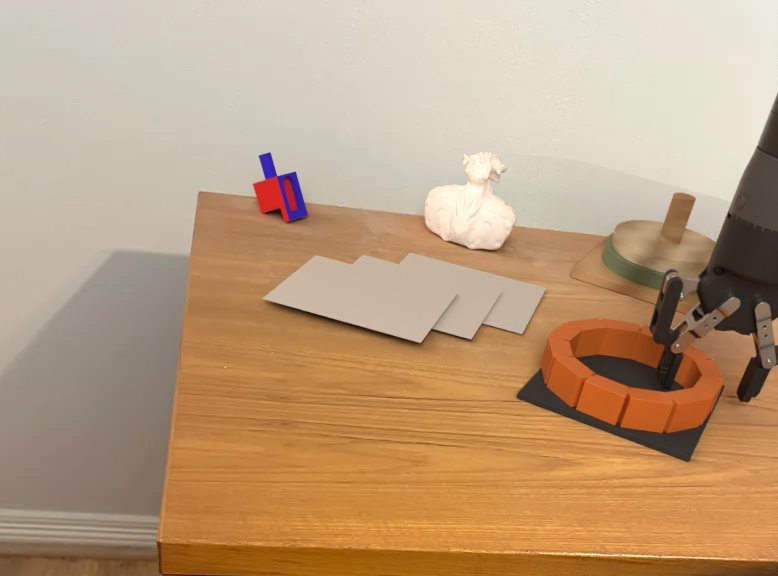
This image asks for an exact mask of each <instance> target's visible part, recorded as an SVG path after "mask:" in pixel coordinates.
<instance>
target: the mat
mask: <svg viewBox="0 0 778 576" xmlns="http://www.w3.org/2000/svg"><path fill="white" fill-rule="evenodd" d="M576 359H577V360H579V361H580V362H581V363H583V364H584V365H585V366H586V367H588V368H589V369H590V370H592V371H593V372H594V373H595V374H597V375H600V376H602V377H605V378H607V379H610V380H612V381H615V382H618V383H620V384H623V385H625V386H628V387H632V388H639V389H646V390H653V391H660V392H671V391H676V390H682V389H684V387H683V386H682V385H680V384H679V383H677V382H676V381H675V380H674V382H673V385H672V387H671V389H670V390H667V389H662V388H661V385H660V382H658V379H657V376H656V368H653V367H651V366H648V365H645V364H643V363H640V362H637V361H635V360H632V359H627V358H620V357H613V356H606V355H599V354H598V355H591V356H584V357H577V358H576ZM725 387H726V386H725V384H723V387H722V389H721V391H720V393H719V396H718V398H717V400H716V403H715V405H714V407H713V409H712V411H711V412H710V414H709V415H708V417H707V418H706V420H705V421H704V422H703V424H702V425H699V426H698V427H696V428H691V429H686V430H681V431H676V432H671V433H666V432H665V431H664V430H663V433H657V432H650V431H643V430H636V429H628V428H621V427H620V424H619V422H618V423H617V424H616V425H612V424H609V423H607V422H604V421H602V420H599V419H597V418H595V417H592V416H590V415H587V414H585V413H582V412H580V411H577V410H576V407H577V406H576V407H570V406H569V405H568V404H566V403H565V402H564V401H563V400H562V399H561V398H559V397H558V396H557V395H556V394H555V393H553V392H552V391H551V390H550V389H549V388H548V387H547V384H545V383H544V378H543V374H542V369H541V367H540V368H539V369H538V370H537V371H536V372H535V374H533V375H532V377H531V378H530V379H529V380H528V381H527V382H526V384H524V385H523V387H522V388H521V389H520V390H519V391H518V392H517V393H516V399H518V400H521V401H524V402H526V403H529V404H532V405H535V406H537V407H540V408H543V409H545V410H548V411H550V412H553V413H556V414H558V415H561V416H564V417H566V418H569V419H572V420H575V421H578V422H579V423H582V424H586V425H588V426H590V427H593V428H595V429H599V430H600V431H604V432H607V433H609V434H612V435H614V436H617V437H620V438H622V439H625V440H628V441H631V442H634V443H636V444H638V445H641V446H645V447H647V448H650V449H651V450H652V449H653V450H654V451H657V452H660V453H662V454H666V455H668V456H671V457H674V458H676V459H679V460H682V461H685V462H688V463H689V462H690V460H691V458H692V456H693V455H694V452H695V449H696V447H697V445H698V444H699V442H700V440H701V437H702V435H703V433H704V431H705V429H706V427H707V425H708V422H709V421H710V419H711V417H712V414H713V413H714V411H715V408H716V406H717V404H718V402H719V400H720V398H721V396H722V394H723V392H724V390H725Z"/></svg>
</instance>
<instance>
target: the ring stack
mask: <svg viewBox="0 0 778 576" xmlns="http://www.w3.org/2000/svg"><path fill="white" fill-rule="evenodd" d="M696 200H697V197H695V196H694V195H692V194H689V193H686V192H674V193H673V194H672V197H671V200H670V203H669V206H668V209H667V212H666V215H665V217H664V221H655V220H647V219H645V220H644V219H634V220H631V219H630V220H625V221H622V222H619V223H618V224H617V225H616V226H615V228H614V231H613V232H611V233H610V234H608V236H606V237H605V239H604V240H602V241H601V242H600V243H599V244H598V245H597V246H596V247H595V248H594V249H593V250H591V251H590V252H589V253H588V254H587V255H586V256H585V257H583V258H582V259H581V260H580V261H579V262H578V263H577V264H576V265H575V266H573V268H572V271H571V275H570V278H572V279H575V280H578V281H581V282H585V283H588V284H591V285H594V286H596V287H599V288H602V289H607V290H609V291H612V292H616V293H619V294H622V295H625V296H628V297H631V298H634V299H638V300H640V301H644V302H646V303H651V304H653V305H656V302H657V299H658V295H659V292H660V288H661V285H662V281H663V278H664V275H665V273H666V272H667V271H668V270H670V269H674V270H676V271H677V272H678V274H681V275H691V276H698V275H699V274H700V273H701V272H702V271H703V270H704V269H705V268H706V267H707V265H708V263H709V260H710V257H711V254H712V252H713V249H714V247H715V244H716V241H715V240H713V239H712V238H710V237H708V236H706V235H704V234H702V233H700V232H698V231H695V230H693V229H690V228H687V226H688V223H689V220H690V217H691V214H692V211H693V209H694V206H695V204H696ZM698 302H699V298H698V295H697V292H696V290H694V291H691V292H690V293H689V294H688V296H687V297H686V299H685V300H683V301H679V302H678V305H677V308H676V312H677V313H681V314H684V315H685V314H686V313H687V312H688V311H689V310H690V309H691V308H692V307H694V306H695V305H696V304H697V303H698Z"/></svg>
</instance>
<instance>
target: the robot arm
mask: <svg viewBox="0 0 778 576" xmlns="http://www.w3.org/2000/svg"><path fill="white" fill-rule="evenodd" d="M715 242H716V244H715V247H714V249H713V252H712V254H711V257H710V260H709V263H708V265H707V267H706V268H705V269H704V270H703V271H702V272H701V273H700V274H699V275H698V276H691V275H681V274H678V272H677V271H676V270H674V269H670V270H668V271H667V272H666V273H665V275H664V278H663V281H662V285H661V288H660V292H659V295H658V299H657V302H656V304H654V305H655V306H654V309H653V313H652V316H651V319H650V323H649V326H648V327H649V328H650V331H651V333H652V335H653V340H654V342H655V343H657V344H662V345H664V346H665V347H664V350H663V352H662V355H661V358H660V361H659V363H658V366H657V368H656V376H657V379H658V382H660V385H661V388H662V389H667V390H670V389H671V387H672V385H673V382H674V380H675V377H676V374H677V372H678V369H679V367H680V364H681V362H682V359H683V357H684V355H683V352H682V351H683V350H685V349H686V348H687V347H688V346H689V345H690V344H691V345H692V344H693V343H694V342H695V341H696V340H698V339H702V338H704V337H705V336H706V335H707V334H708V333H709V332H711V331H712V330H713V329H714V331H719V332H735V333H737V334H739V335H743V336H749V337H750V336H751V335H752V340H753V345H754V350H755V354H756V355H755V356H751V357H750V359H749V361H748V364H747V365H746V368H745V370H744V372H743V374H742V377H741V379H740V382H739V383H738V386H737V388H736V391H735V393H736V395H737V398H738V400H739V402H742V403H750V402H751V400H752V398H753V399H756V397H758V396H759V395H760V394H761V391H762V389H763V387H764V384H765V383H766V380H767V379H768V377H769V374H770V372H771V370H772V369H773V368H774V367H776V366H778V344H777V345H775V344H776V341H775V335H774V328H773V322H774V321H775V320H776V319H778V92H776V95H775V98H774V100H773V103H772V105H771V109H770V111H769V113H768V116H767V118H766V121H765V124H764V126H763V129H762V131H761V134H760V136H759V139H758V142H757V145H755V149H754V151H753V154H752V155H751V156H750V159H749V161H748V163H747V164H746V166H745V168H744V171H743V172H742V175H741V176H740V179H739V182H738V184H737V186H736V190H735V192H734V194H733V198H732V200H731V202H730V205H729V208H728V211H727V213H726V215H725V217H724V221H723V223H722V226H721V228H720V231H719V234H718V237H717V239H716V241H715ZM694 290H696V292H697V295H698V298H699V302H698V303H697V304H696V305H695V306H694V307H692V308H691V309H690V310H689V311H688V312H687V313H686V314H684V316H683V318H682V319H681V320H679V322H678V323H677V324H676V325H674V326H673V327H672V325H673V321H674V318H675V314H676V312H677V311H676V308H677V305H678V302H679V301H683V300H685V299H686V297H687V296H688V294H689V293H690V292H691V291H694Z"/></svg>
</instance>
